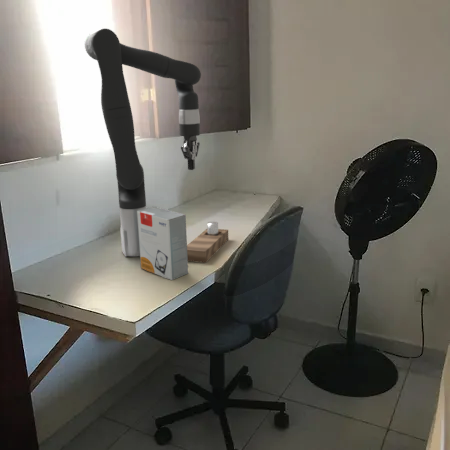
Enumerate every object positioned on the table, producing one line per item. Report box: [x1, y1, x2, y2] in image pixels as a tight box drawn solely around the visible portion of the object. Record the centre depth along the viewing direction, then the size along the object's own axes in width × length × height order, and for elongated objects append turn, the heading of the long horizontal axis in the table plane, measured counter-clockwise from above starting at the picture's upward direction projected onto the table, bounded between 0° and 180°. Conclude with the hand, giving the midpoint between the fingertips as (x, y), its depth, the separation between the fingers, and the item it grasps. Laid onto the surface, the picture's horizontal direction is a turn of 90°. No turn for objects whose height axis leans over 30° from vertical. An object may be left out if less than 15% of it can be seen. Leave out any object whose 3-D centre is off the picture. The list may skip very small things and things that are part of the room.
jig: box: [187, 228, 229, 263], centre depth 184 cm, size 25×8×4 cm, turn 162°
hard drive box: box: [137, 206, 189, 281], centre depth 162 cm, size 16×8×20 cm, turn 47°
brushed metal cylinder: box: [206, 221, 219, 236], centre depth 189 cm, size 4×4×8 cm
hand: (191, 169), depth 189 cm, fingers closed
